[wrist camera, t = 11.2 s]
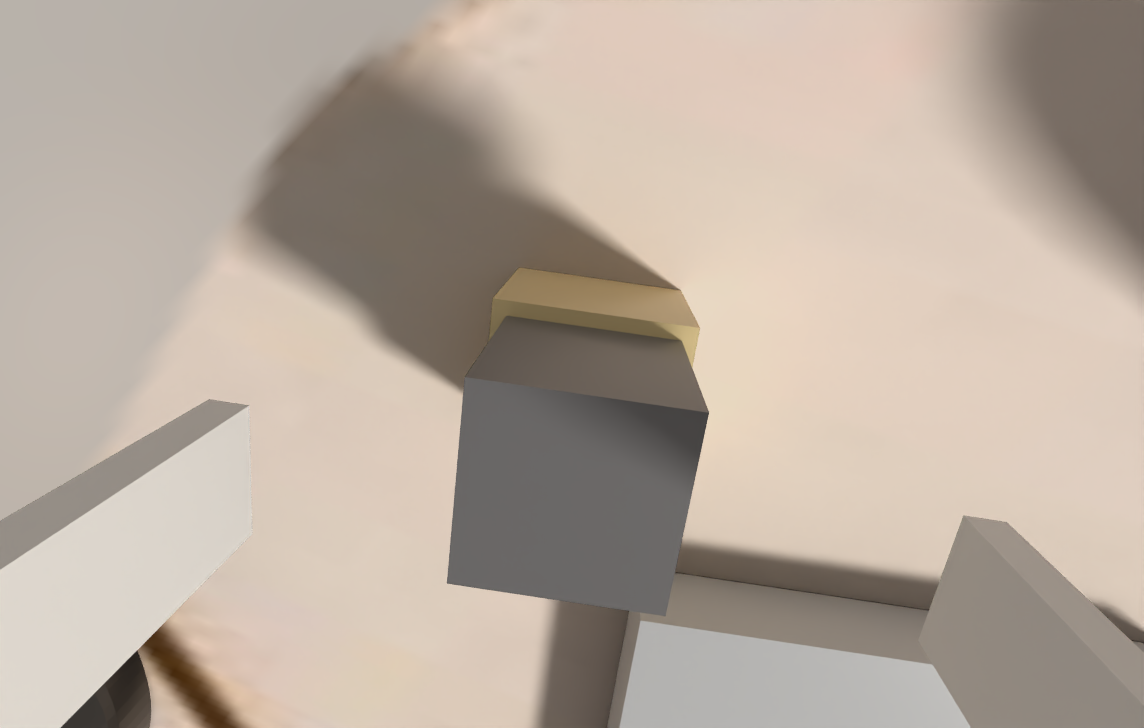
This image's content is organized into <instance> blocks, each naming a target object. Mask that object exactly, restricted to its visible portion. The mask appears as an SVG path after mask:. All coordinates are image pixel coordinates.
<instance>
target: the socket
mask: <svg viewBox="0 0 1144 728" xmlns="http://www.w3.org/2000/svg"><path fill="white" fill-rule="evenodd" d="M928 612H929V611H928V610H921V609H914V608H908V607H901V606H894V605H888V604H881V603H874V602H867V601H861V600H854V599H847V598H841V597H834V596H827V595H821V594H814V593H807V592H801V591H794V590H787V589H780V588H774V587H767V586H760V585H754V584H747V583H740V582H734V581H727V580H720V579H713V578H707V577H700V576H693V575H687V574H680V573H675V574H674V579H673V584H672V589H671V593H670V598H669V603H668V607H667V612H666V616H660V615H653V614H646V613H640V612H633V611H629V614H628V619H627V625H626V630H625V635H624V640H623V646H622V651H621V656H620V661H619V667H618V672H617V677H616V682H615V688H614V693H613V698H612V703H611V709H610V714H609V719H608V724H607V728H971V727H970V725H969V724H968V722H967V720H966V719H965V717H964V715H963V714H962V712H961V710H960V709H959V707H958V706H957V704H956V702H955V701H954V699H953V697H952V696H951V694H950V692H949V691H948V689H947V687H946V686H945V684H944V683H943V681H942V679H941V678H940V676H939V674H938V673H937V671H936V669H935V668H934V666H933V664H932V663H931V661H930V659H929V658H928V656H927V655H926V653H925V651H924V650H923V648H922V646H921V645H920V643H919V641H918V639H919V637H920V634H921V631H922V628H923V626H924V623H925V620H926V617H927V615H928ZM1132 642H1133V643H1134V644H1135V645H1136V646H1137V647H1138V648H1139V649H1141V650H1142V651H1143V652H1144V643H1142V642H1135V641H1132Z"/></svg>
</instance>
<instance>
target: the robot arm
mask: <svg viewBox="0 0 1144 728" xmlns="http://www.w3.org/2000/svg"><path fill="white" fill-rule="evenodd" d="M251 535H252V496H251V456H250V416H249V405H243V404H236V403H230V402H223V401H217V400H210V399H209V400H207V401H205V402H204V403H202V404H200V405H199V406H197V407H195V408H193V409H192V410H190V411H188V412H186V413H185V414H183V415H181V416H180V417H178V418H176V419H174V420H173V421H171V422H169V423H168V424H166V425H164V426H162V427H161V428H159V429H157V430H155V431H154V432H152V433H150V434H149V435H147V436H145V437H143V438H142V439H140V440H138V441H137V442H135V443H133V444H131V445H130V446H128V447H126V448H125V449H123V450H121V451H119V452H118V453H116V454H114V455H112V456H111V457H109V458H107V459H106V460H104V461H102V462H100V463H99V464H97V465H95V466H94V467H92V468H90V469H88V470H87V471H85V472H83V473H82V474H80V475H78V476H76V477H75V478H73V479H71V480H70V481H68V482H66V483H64V484H63V485H61V486H59V487H57V488H56V489H54V490H52V491H51V492H49V493H47V494H45V495H44V496H42V497H40V498H39V499H37V500H35V501H33V502H32V503H30V504H28V505H26V506H25V507H23V508H22V509H20V510H18V511H16V512H15V513H13V514H11V515H10V516H8V517H6V518H4V519H2V520H1V521H0V728H149V727H150V720H151V699H150V692H149V687H148V682H147V678H146V675H145V672H144V668H143V666H142V663H141V661H140V658H139V656H138V654H137V652H136V651H137V650H138V649H139V648H140V647H141V646H142V645H143V644H144V643H145V642H146V641H147V640H148V639H149V638H150V637H151V636H152V635H153V634H154V633H155V632H156V631H157V630H158V629H159V628H160V627H161V626H162V625H163V624H164V623H165V621H166V620H167V619H168V618H169V617H170V616H171V615H172V614H173V613H174V612H175V611H176V610H177V609H178V608H179V607H180V606H181V605H182V604H183V603H184V602H185V601H186V600H187V599H188V598H189V597H190V596H191V595H192V594H193V593H194V592H195V591H196V590H197V589H198V588H199V587H200V586H201V585H202V584H203V583H204V582H205V581H206V580H207V579H208V578H209V577H210V576H211V575H212V574H213V573H214V572H215V571H216V570H217V569H218V568H219V567H220V566H221V565H222V564H223V563H224V562H225V561H226V560H227V559H228V558H229V557H230V556H231V555H232V554H233V553H234V552H235V551H236V550H237V549H238V548H239V547H240V546H241V545H242V544H243V543H244V542H245V541H246V540H247V539H248V538H249V537H250V536H251ZM918 641H919V643H920V645H921V646H922V648H923V650H924V651H925V653H926V655H927V656H928V658H929V659H930V661H931V663H932V664H933V666H934V668H935V669H936V671H937V673H938V674H939V676H940V678H941V679H942V681H943V683H944V684H945V686H946V687H947V689H948V691H949V692H950V694H951V696H952V697H953V699H954V701H955V702H956V704H957V706H958V707H959V709H960V710H961V712H962V714H963V715H964V717H965V719H966V720H967V722H968V724H969V725H970V727H971V728H1144V652H1143V651H1142V650H1141V649H1139V648H1138V647H1137V646H1136V645H1135V644H1134V643H1133V642H1132V641H1131V640H1130V639H1129V638H1128V637H1127V636H1126V635H1125V634H1124V633H1123V632H1122V631H1121V630H1120V629H1118V628H1117V627H1116V626H1115V625H1114V624H1113V623H1112V622H1111V621H1110V620H1109V619H1108V618H1107V617H1106V616H1105V615H1104V614H1103V613H1102V612H1101V611H1100V610H1099V609H1097V608H1096V607H1095V606H1094V605H1093V604H1092V603H1091V602H1090V601H1089V600H1088V599H1087V598H1086V597H1085V596H1084V595H1083V594H1082V593H1081V592H1080V591H1079V590H1078V589H1076V588H1075V587H1074V586H1073V585H1072V584H1071V583H1070V582H1069V581H1068V580H1067V579H1066V578H1065V577H1064V576H1063V575H1062V574H1061V573H1060V572H1059V571H1058V570H1057V569H1055V568H1054V567H1053V566H1052V565H1051V564H1050V563H1049V562H1048V561H1047V560H1046V559H1045V558H1044V557H1043V556H1042V555H1041V554H1040V553H1039V552H1038V551H1037V550H1036V549H1034V548H1033V547H1032V546H1031V545H1030V544H1029V543H1028V542H1027V541H1026V540H1025V539H1024V538H1023V537H1022V536H1021V535H1020V534H1019V533H1018V532H1017V531H1016V530H1015V529H1014V528H1012V527H1011V526H1010V525H1009V524H1008V523H1007V522H1002V521H996V520H989V519H983V518H976V517H970V516H963V518H962V521H961V524H960V527H959V529H958V532H957V535H956V538H955V540H954V543H953V546H952V549H951V551H950V554H949V557H948V560H947V562H946V565H945V568H944V571H943V573H942V576H941V579H940V582H939V584H938V587H937V590H936V593H935V595H934V598H933V601H932V604H931V606H930V609H929V612H928V615H927V617H926V620H925V623H924V626H923V628H922V631H921V634H920V637H919V639H918Z"/></svg>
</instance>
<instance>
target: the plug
mask: <svg viewBox="0 0 1144 728" xmlns="http://www.w3.org/2000/svg"><path fill="white" fill-rule="evenodd" d="M699 331H700V327H699V325H698V323H697V321H696V319H695V317H694V315H693V313H692V311H691V309H690V307H689V306H688V304H687V302H686V300H685V298H684V296H683V294H682V292H681V290H675V289H668V288H660V287H653V286H646V285H639V284H632V283H625V282H618V281H611V280H604V279H597V278H590V277H583V276H576V275H569V274H562V273H555V272H548V271H541V270H534V269H527V268H520V267H519V268H518V269H517V270H516V272H515V273H514V274H513V275H512V276H511V277H510V279H509V280H508V281H507V282H506V283H505V284H504V286H503V287H502V288H501V289H500V290H499V291H498V293H497V294H496V295H495V296H494V297H493V300H492V310H491V320H490V331H489V341H488V343H487V345H486V346H485V348H484V349H483V351H482V352H481V354H480V355H479V357H478V358H477V360H476V361H475V363H474V364H473V366H472V367H471V369H470V370H469V372H468V373H467V375H466V376H465V380H464V392H463V403H462V415H461V426H460V438H459V450H458V461H457V473H456V485H455V496H454V508H453V520H452V531H451V543H450V554H449V566H448V578H447V584H454V585H461V586H467V587H474V588H480V589H487V590H494V591H500V592H507V593H514V594H520V595H527V596H534V597H540V598H547V599H553V600H560V601H567V602H573V603H580V604H587V605H593V606H600V607H606V608H613V609H620V610H626V611H633V612H640V613H646V614H653V615H660V616H666V612H667V607H668V603H669V598H670V593H671V589H672V584H673V579H674V574H675V570H676V565H677V560H678V556H679V551H680V546H681V542H682V537H683V532H684V528H685V523H686V518H687V513H688V509H689V504H690V499H691V495H692V490H693V485H694V481H695V476H696V471H697V466H698V462H699V457H700V452H701V448H702V443H703V438H704V434H705V429H706V424H707V419H708V415H709V411H708V409H707V406H706V403H705V401H704V398H703V396H702V393H701V390H700V388H699V385H698V382H697V380H696V377H695V374H694V372H693V369H692V366H693V361H694V356H695V351H696V346H697V341H698V336H699Z"/></svg>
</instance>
